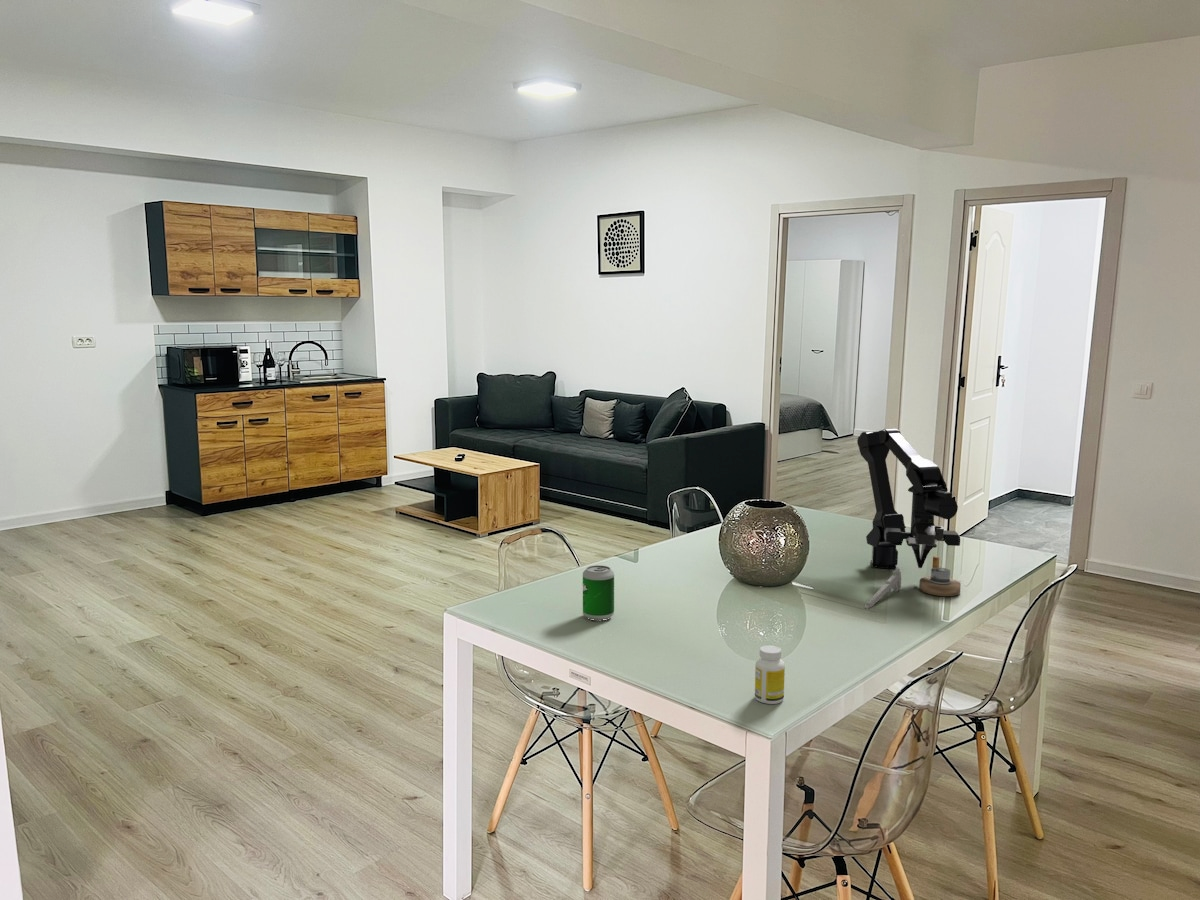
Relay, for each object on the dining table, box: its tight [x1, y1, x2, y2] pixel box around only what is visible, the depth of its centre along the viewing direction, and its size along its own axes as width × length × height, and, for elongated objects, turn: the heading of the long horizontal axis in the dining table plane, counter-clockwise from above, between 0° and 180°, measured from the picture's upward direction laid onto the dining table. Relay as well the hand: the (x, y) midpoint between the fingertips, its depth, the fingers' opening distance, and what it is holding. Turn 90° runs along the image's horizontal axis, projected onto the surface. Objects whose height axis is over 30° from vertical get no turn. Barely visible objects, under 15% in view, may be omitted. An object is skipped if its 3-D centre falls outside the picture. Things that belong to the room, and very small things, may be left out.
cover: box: [930, 567, 951, 585], centre depth 233 cm, size 5×5×3 cm
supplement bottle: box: [754, 645, 786, 705], centre depth 168 cm, size 5×5×10 cm
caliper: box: [863, 567, 902, 610], centre depth 227 cm, size 20×1×6 cm, turn 140°
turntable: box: [919, 555, 962, 597], centre depth 235 cm, size 14×10×7 cm
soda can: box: [582, 564, 615, 620], centre depth 213 cm, size 8×8×12 cm
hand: (919, 567), depth 241 cm, fingers closed
